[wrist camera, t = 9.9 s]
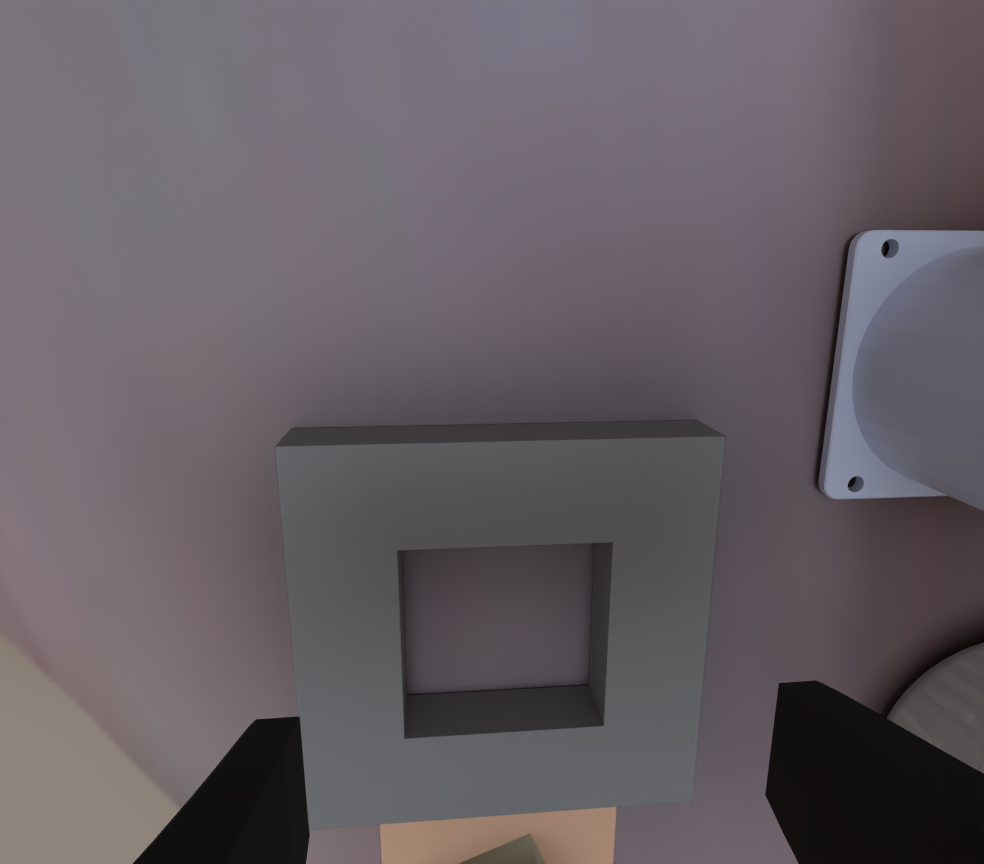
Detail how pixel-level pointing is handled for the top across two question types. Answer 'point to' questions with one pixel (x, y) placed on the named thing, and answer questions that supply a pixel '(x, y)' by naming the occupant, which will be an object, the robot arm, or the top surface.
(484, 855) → the sage block
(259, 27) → the top surface
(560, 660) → the top surface
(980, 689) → the ramekin
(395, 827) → the coaster
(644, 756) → the pocket board
